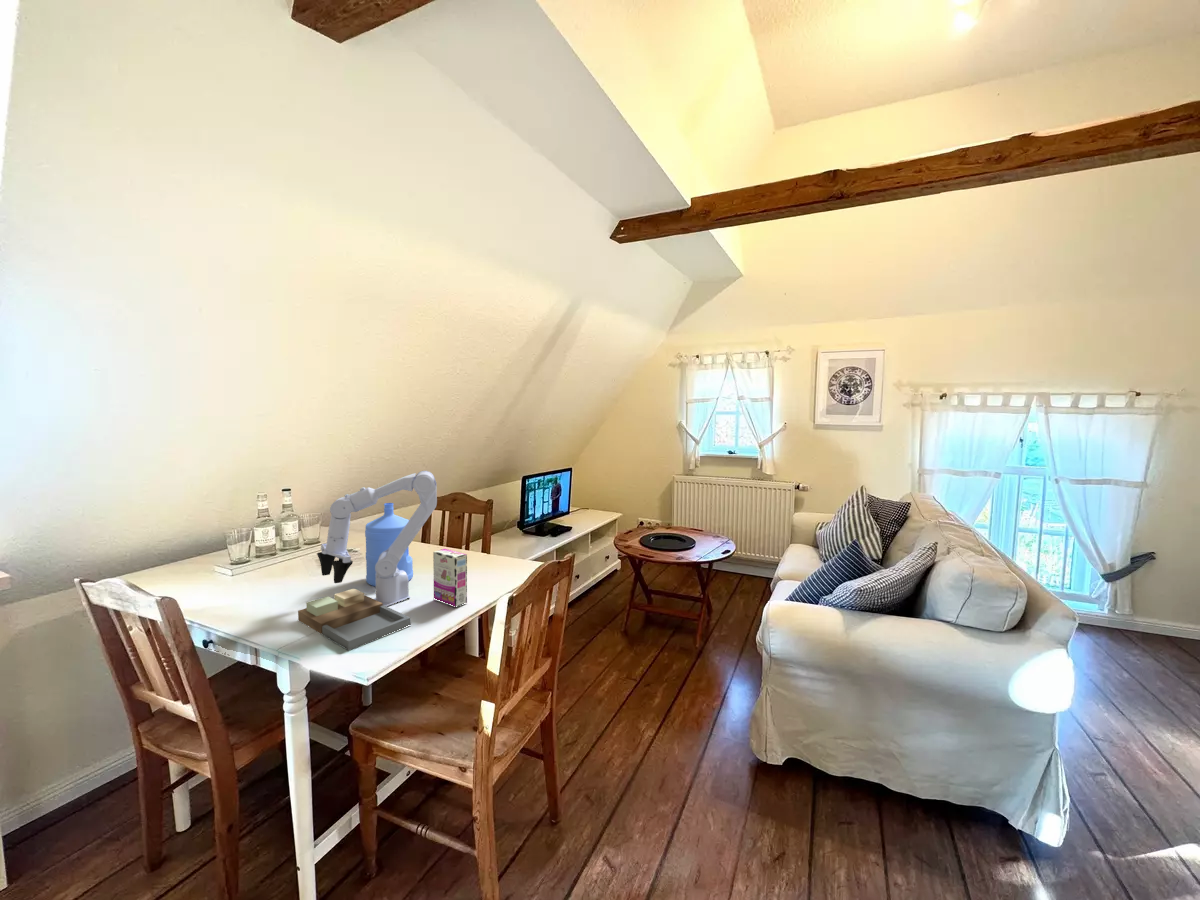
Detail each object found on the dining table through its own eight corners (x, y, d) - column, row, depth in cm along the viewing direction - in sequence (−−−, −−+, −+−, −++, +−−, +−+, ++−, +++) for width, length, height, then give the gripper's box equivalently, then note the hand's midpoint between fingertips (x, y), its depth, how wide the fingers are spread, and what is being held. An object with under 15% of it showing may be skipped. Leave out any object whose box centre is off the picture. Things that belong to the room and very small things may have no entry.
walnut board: (358, 601, 158) (358, 592, 158) (382, 612, 150) (382, 603, 150) (298, 620, 144) (298, 610, 143) (321, 634, 135) (321, 623, 135)
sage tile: (327, 604, 148) (327, 596, 148) (337, 609, 145) (337, 601, 144) (306, 610, 143) (306, 602, 143) (316, 616, 140) (316, 607, 140)
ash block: (354, 596, 155) (353, 588, 154) (364, 600, 151) (364, 593, 151) (334, 602, 150) (334, 594, 150) (344, 607, 146) (344, 599, 146)
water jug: (380, 591, 167) (379, 510, 164) (357, 580, 176) (356, 503, 174) (421, 579, 179) (421, 503, 177) (398, 569, 189) (397, 497, 186)
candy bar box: (468, 603, 158) (468, 553, 157) (455, 608, 154) (455, 557, 153) (445, 595, 165) (445, 547, 163) (432, 600, 160) (432, 551, 159)
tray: (383, 613, 150) (383, 605, 149) (410, 625, 142) (410, 617, 141) (322, 634, 135) (322, 626, 135) (348, 650, 127) (348, 641, 127)
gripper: (313, 531, 153) (307, 573, 154) (336, 543, 145) (330, 588, 146) (336, 529, 159) (330, 570, 160) (359, 541, 151) (353, 584, 152)
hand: (331, 578), depth 153 cm, fingers open, 7 cm apart
